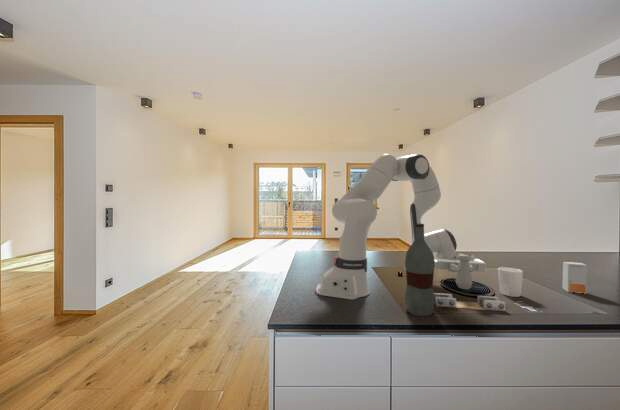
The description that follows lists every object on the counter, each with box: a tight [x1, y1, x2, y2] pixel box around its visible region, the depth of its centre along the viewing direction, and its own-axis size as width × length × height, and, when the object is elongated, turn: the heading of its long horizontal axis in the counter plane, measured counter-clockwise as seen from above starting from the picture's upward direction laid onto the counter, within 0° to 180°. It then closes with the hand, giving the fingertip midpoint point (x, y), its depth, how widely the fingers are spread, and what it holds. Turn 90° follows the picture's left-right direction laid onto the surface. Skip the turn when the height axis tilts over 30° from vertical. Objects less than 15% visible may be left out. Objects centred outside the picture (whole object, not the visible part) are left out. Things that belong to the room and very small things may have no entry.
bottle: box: [404, 223, 436, 317], centre depth 87 cm, size 9×9×30 cm
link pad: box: [456, 300, 485, 311], centre depth 92 cm, size 9×6×1 cm
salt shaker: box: [454, 253, 473, 290], centre depth 101 cm, size 6×6×13 cm
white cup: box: [497, 266, 524, 298], centre depth 103 cm, size 8×8×10 cm
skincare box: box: [561, 261, 588, 295], centre depth 106 cm, size 6×4×12 cm
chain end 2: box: [477, 295, 506, 312], centre depth 90 cm, size 6×5×3 cm
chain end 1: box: [433, 292, 457, 309], centre depth 93 cm, size 6×5×3 cm
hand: (464, 269), depth 100 cm, fingers closed on salt shaker, 3 cm apart
